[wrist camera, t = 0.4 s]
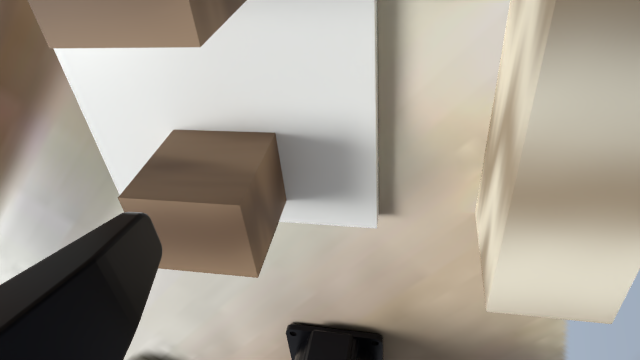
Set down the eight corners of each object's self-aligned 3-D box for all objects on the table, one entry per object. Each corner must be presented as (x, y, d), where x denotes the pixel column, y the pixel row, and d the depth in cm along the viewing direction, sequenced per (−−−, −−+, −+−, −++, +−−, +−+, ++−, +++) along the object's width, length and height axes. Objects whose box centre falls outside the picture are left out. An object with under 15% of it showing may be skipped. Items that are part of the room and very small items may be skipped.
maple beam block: (573, 216, 22) (611, 324, 17) (474, 210, 23) (486, 311, 18) (669, -63, 15) (779, -6, 10) (518, -56, 16) (556, -1, 11)
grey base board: (378, 215, 24) (376, 228, 23) (135, 199, 27) (127, 211, 26) (375, -214, 14) (372, -215, 13) (-21, -167, 16) (-43, -166, 16)
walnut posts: (286, 200, 23) (257, 277, 19) (194, 195, 24) (149, 267, 20) (230, -136, 15) (159, -119, 11) (91, -124, 16) (-20, -103, 12)
